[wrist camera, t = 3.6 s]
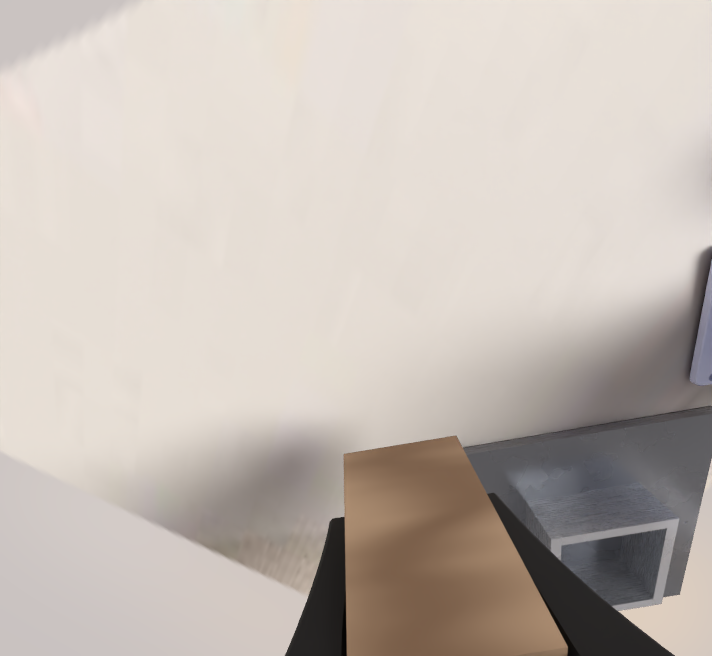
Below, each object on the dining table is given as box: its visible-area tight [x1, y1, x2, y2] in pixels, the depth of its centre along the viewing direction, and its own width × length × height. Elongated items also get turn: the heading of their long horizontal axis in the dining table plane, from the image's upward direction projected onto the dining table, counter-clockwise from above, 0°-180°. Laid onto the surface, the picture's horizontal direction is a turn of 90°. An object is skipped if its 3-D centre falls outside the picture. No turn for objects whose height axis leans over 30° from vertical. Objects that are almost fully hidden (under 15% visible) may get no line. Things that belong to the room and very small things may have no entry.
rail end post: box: [344, 436, 568, 656], centre depth 9 cm, size 4×4×6 cm
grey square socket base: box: [463, 406, 712, 611], centre depth 21 cm, size 16×16×3 cm
